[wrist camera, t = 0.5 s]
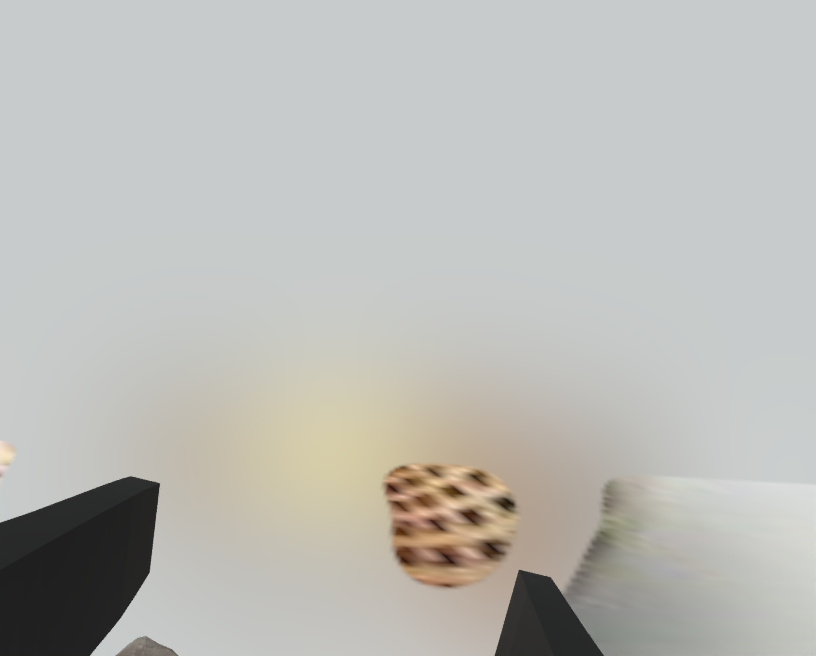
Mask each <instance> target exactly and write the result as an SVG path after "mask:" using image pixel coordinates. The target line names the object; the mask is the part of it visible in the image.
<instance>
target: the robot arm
mask: <svg viewBox="0 0 816 656" xmlns="http://www.w3.org/2000/svg"><path fill="white" fill-rule="evenodd" d="M159 487H160V483H156V482H152V481H148V480H143V479H140V478H136V477H127V478H123V479H120V480H117V481H114V482H111V483H108V484H105V485H103V486H100V487H97V488H95V489H92V490H89V491H87V492H84V493H81V494H79V495H76V496H74V497H71V498H68V499H65V500H63V501H60V502H57V503H55V504H52V505H50V506H47V507H44V508H42V509H39V510H36V511H33V512H31V513H28V514H25V515H22V516H19V517H16V518H13V519H10V520H7V521H4V522H1V523H0V656H90V655H91V654H92V652H93V651H94V650H95V649H96V647H97V646H98V645H99V644H100V642H101V641H102V640H103V639H104V638H105V637H106V635H107V634H108V633H109V632H110V631H111V629H112V628H113V627H114V626H115V624H116V623H117V622H118V621H119V619H120V618H121V616H122V615H123V613H124V612H125V610H126V609H127V607H128V606H129V604H130V603H131V601H132V600H133V598H134V597H135V595H136V593H137V592H138V590H139V589H140V587H141V585H142V584H143V582H144V581H145V579H146V577H147V576H148V574H149V572H150V565H151V556H152V547H153V538H154V529H155V521H156V512H157V504H158V495H159ZM495 656H604V655H603V654H602V652H601V651H600V650H599V648H598V647H597V645H596V644H595V643H594V641H593V640H592V638H591V637H590V635H589V634H588V633H587V631H586V630H585V628H584V627H583V625H582V624H581V622H580V621H579V619H578V618H577V616H576V615H575V613H574V612H573V610H572V609H571V607H570V606H569V604H568V603H567V601H566V600H565V598H564V597H563V595H562V593H561V592H560V590H559V589H558V587H557V586H556V585H555V583H554V582H553V580H552V579H551V577H547V576H543V575H539V574H534V573H530V572H526V571H522V570H519V572H518V576H517V579H516V582H515V586H514V590H513V593H512V597H511V600H510V604H509V607H508V611H507V614H506V618H505V621H504V625H503V629H502V632H501V635H500V639H499V643H498V646H497V650H496V653H495Z"/></svg>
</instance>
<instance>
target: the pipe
mask: <svg viewBox="0 0 816 656" xmlns="http://www.w3.org/2000/svg"><path fill="white" fill-rule="evenodd" d="M116 656H178V655H177V654H176V653H175V652H174V651H173V650H172V649H170V648H167V647H165V646H162V645H160V644H158V643H157V642H155V641H153V640H151V639H150V638H148V637H146V636H145V637H140V638H137V639H136V640H134V641H133V642H132V643H130V644H129V645H127V646H126V647H125V648H124V649H123V650H122V651H121V652H120V653H118V654H117V655H116Z"/></svg>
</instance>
